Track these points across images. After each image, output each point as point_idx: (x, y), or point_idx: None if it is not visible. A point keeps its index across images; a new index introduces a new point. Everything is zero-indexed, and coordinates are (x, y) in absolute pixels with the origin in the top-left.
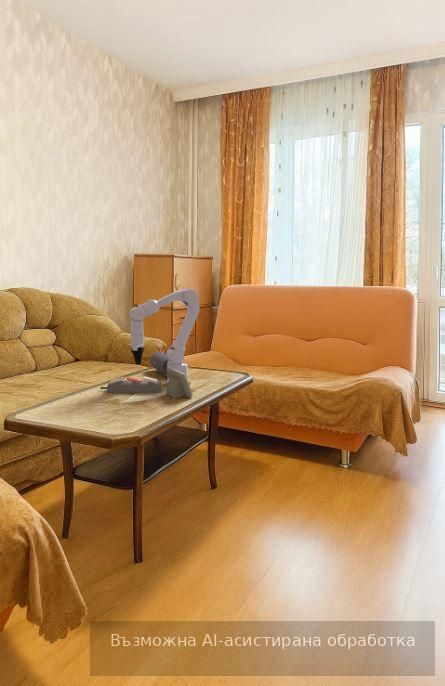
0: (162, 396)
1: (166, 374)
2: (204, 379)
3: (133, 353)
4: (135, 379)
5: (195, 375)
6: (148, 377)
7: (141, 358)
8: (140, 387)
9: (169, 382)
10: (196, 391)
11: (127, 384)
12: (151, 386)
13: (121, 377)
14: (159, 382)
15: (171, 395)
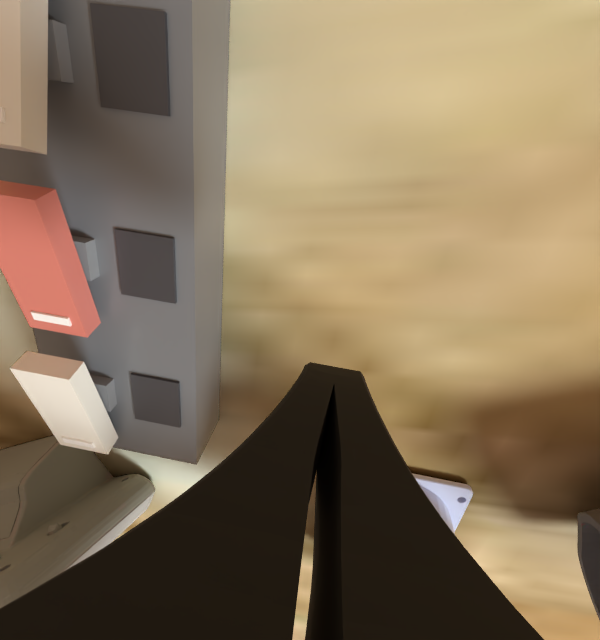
0: (12, 404)
1: (580, 514)
2: None
3: (130, 549)
4: (17, 283)
5: (577, 627)
6: (81, 406)
7: (316, 535)
8: None
9: (11, 506)
10: None
11: None
12: None
13: (2, 98)
14: (122, 446)
15: (12, 449)
